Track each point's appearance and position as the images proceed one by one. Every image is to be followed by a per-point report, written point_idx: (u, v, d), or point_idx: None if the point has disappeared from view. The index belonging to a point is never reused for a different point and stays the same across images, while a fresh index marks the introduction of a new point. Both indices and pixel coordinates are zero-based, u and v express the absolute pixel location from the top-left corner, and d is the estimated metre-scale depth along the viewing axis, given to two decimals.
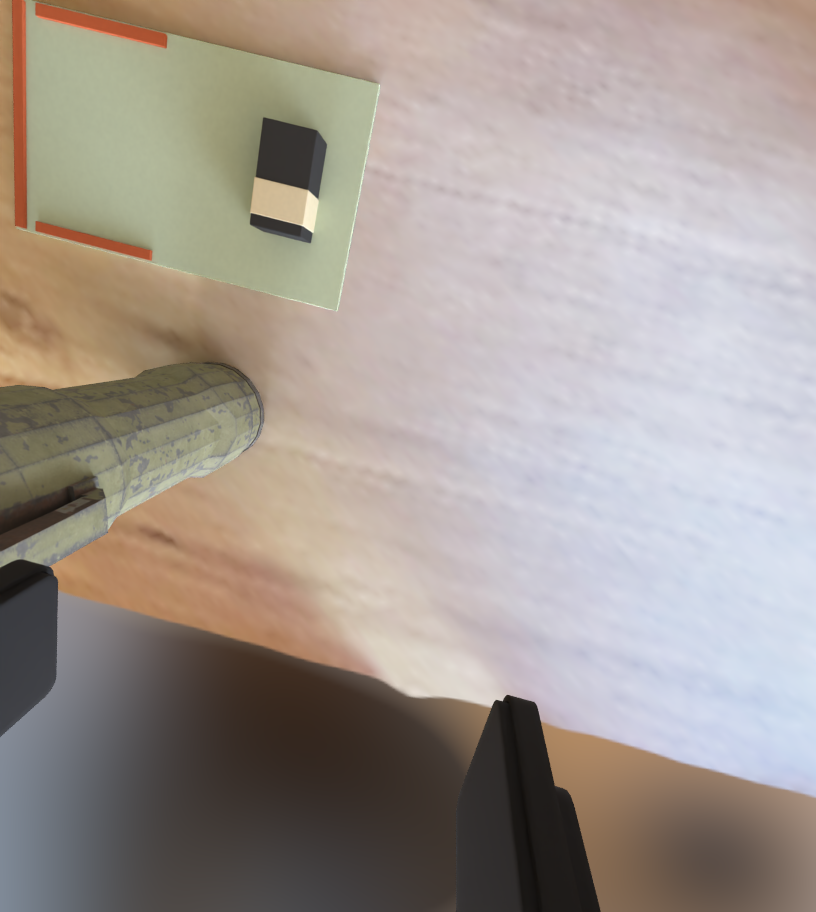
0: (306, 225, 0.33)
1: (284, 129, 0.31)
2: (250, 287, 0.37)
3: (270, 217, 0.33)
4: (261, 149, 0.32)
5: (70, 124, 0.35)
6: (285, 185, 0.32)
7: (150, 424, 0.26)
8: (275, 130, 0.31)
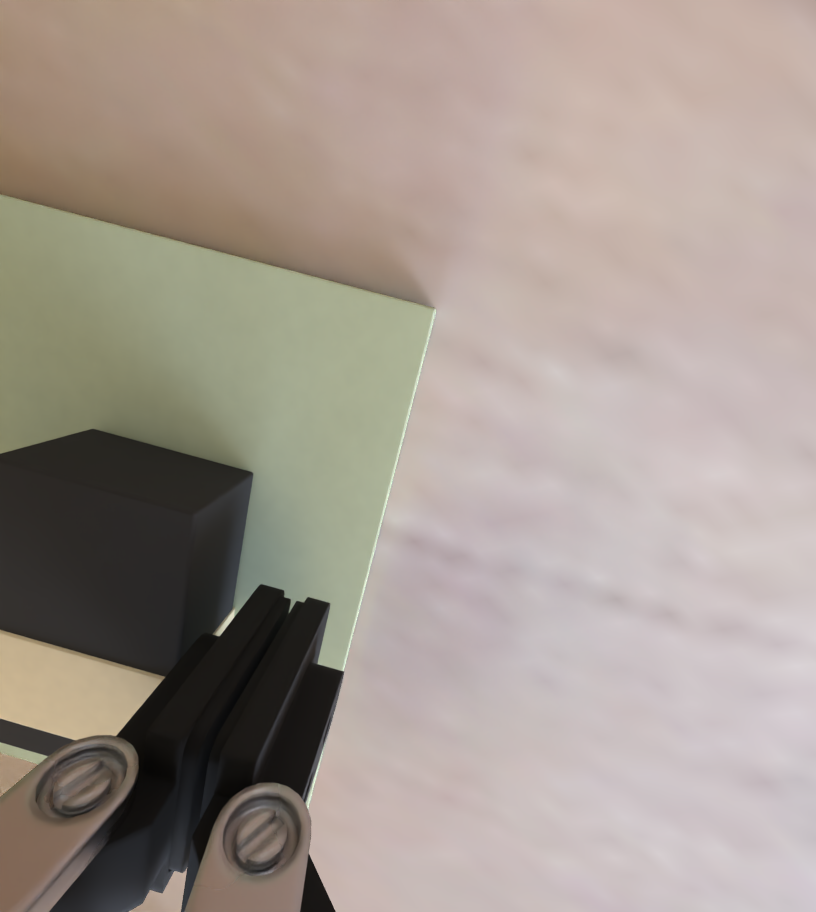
0: None
1: (72, 502, 0.08)
2: None
3: (57, 735, 0.10)
4: None
5: None
6: (96, 661, 0.09)
7: None
8: (40, 502, 0.08)
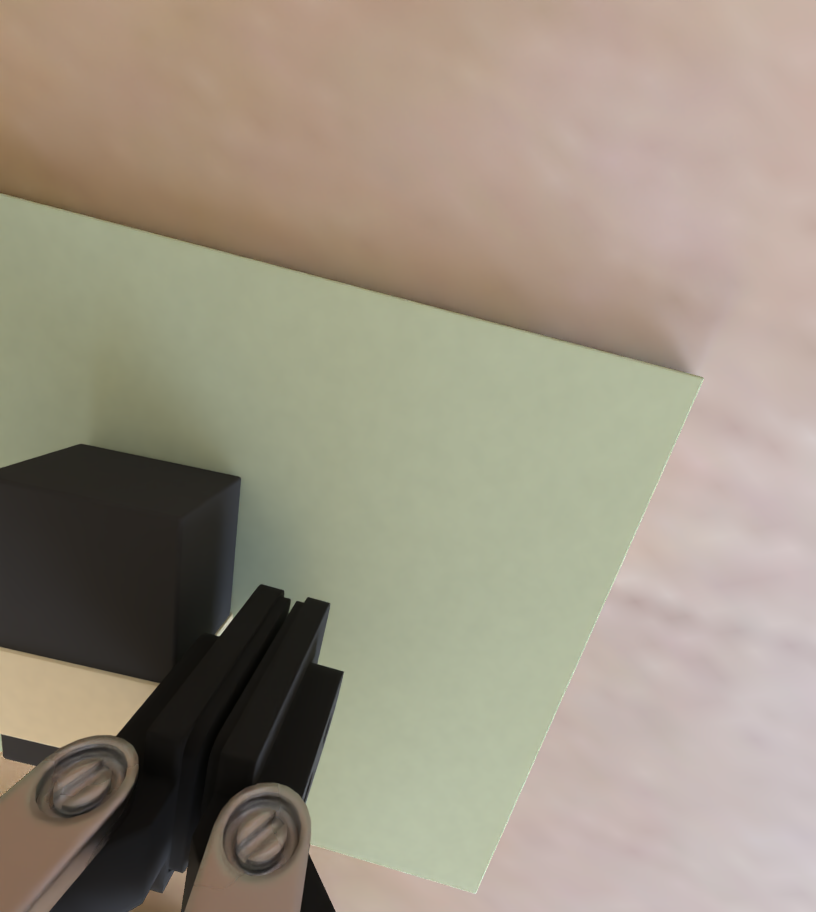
0: None
1: (59, 515, 0.08)
2: None
3: None
4: None
5: None
6: (94, 672, 0.09)
7: None
8: (29, 517, 0.08)
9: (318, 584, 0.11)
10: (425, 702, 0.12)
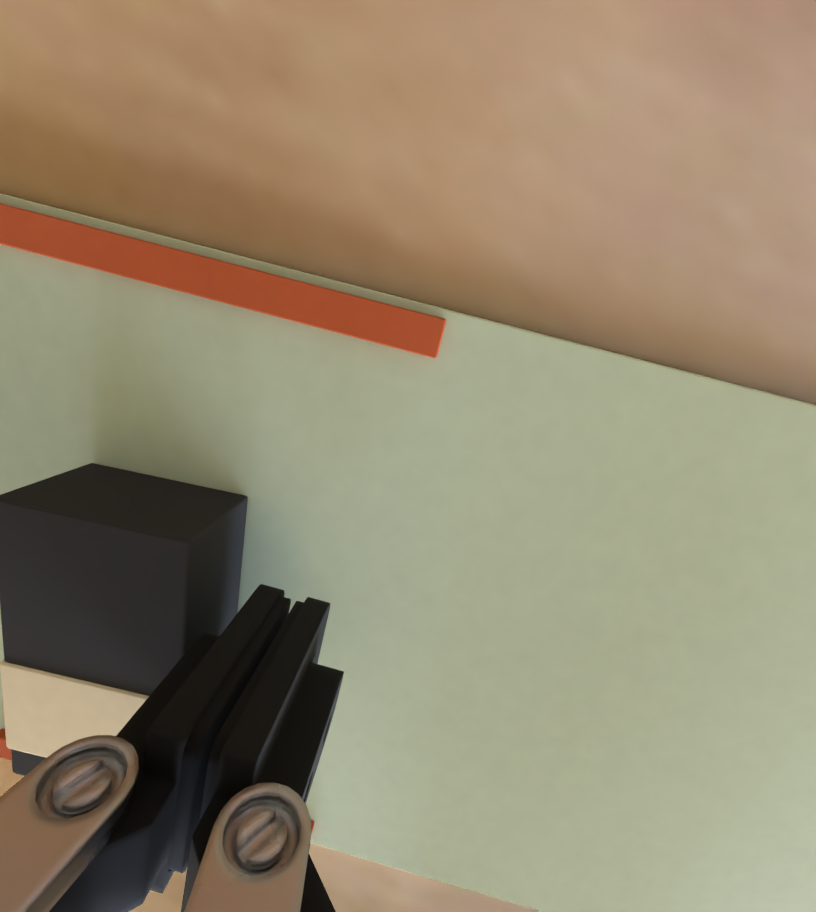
0: None
1: (72, 536, 0.09)
2: None
3: None
4: (6, 589, 0.09)
5: None
6: (104, 689, 0.09)
7: None
8: (43, 538, 0.09)
9: (741, 702, 0.11)
10: None
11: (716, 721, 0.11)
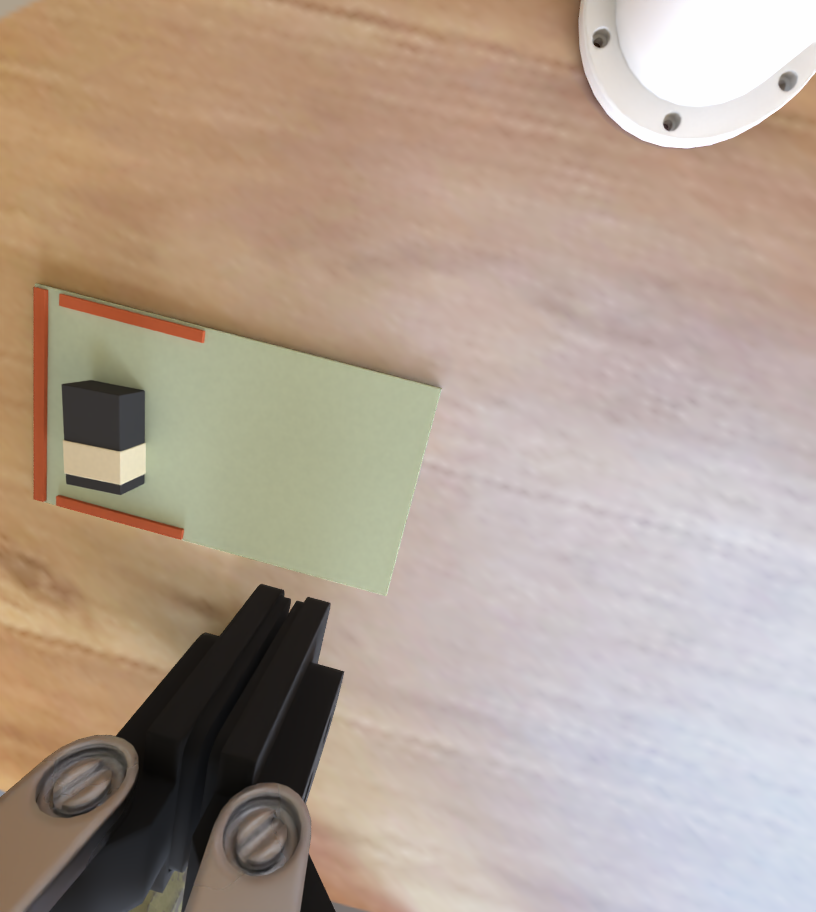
0: (128, 479, 0.31)
1: (85, 395, 0.29)
2: (291, 568, 0.34)
3: (86, 477, 0.30)
4: (65, 414, 0.29)
5: None
6: (95, 447, 0.30)
7: None
8: (76, 396, 0.29)
9: (322, 463, 0.31)
10: (361, 508, 0.32)
11: (316, 471, 0.31)
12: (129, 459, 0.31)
